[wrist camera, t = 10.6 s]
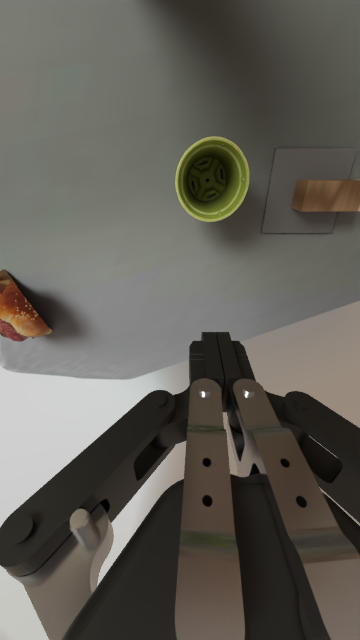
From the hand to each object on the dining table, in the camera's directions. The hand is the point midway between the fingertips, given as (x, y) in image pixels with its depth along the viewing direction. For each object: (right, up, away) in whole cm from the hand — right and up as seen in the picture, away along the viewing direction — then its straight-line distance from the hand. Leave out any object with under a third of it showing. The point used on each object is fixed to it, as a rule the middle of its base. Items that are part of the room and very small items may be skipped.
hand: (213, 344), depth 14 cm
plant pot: (+2, +24, +24) cm, 34 cm away
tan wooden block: (+25, +20, +23) cm, 40 cm away
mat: (+18, +22, +25) cm, 38 cm away
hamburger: (-33, +5, +37) cm, 49 cm away
